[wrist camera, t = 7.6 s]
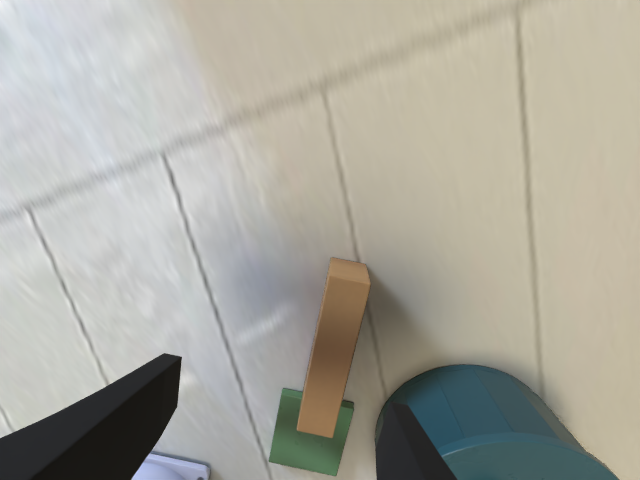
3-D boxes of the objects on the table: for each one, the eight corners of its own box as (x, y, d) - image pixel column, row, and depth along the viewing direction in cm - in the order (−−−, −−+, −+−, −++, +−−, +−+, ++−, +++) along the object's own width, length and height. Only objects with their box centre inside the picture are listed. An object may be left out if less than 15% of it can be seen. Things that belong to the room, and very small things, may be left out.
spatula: (336, 468, 22) (335, 517, 19) (270, 454, 22) (259, 500, 19) (388, 268, 18) (398, 289, 15) (308, 252, 18) (302, 269, 15)
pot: (513, 515, 22) (568, 624, 17) (359, 482, 22) (365, 580, 17) (575, 384, 19) (664, 467, 14) (398, 348, 20) (420, 416, 14)
